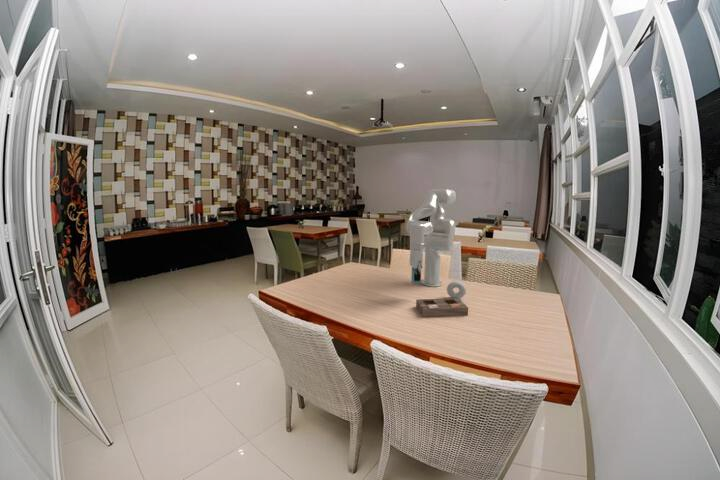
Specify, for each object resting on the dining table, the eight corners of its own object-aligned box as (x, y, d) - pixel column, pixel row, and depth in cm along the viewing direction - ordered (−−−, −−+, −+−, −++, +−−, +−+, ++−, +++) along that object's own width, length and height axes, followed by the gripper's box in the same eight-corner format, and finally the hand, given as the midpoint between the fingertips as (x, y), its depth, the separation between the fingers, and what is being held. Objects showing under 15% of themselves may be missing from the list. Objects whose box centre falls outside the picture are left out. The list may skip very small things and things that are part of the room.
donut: (446, 298, 158) (447, 281, 157) (446, 296, 162) (447, 279, 160) (465, 301, 155) (466, 283, 153) (465, 298, 158) (466, 281, 156)
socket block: (416, 306, 147) (416, 299, 147) (457, 305, 149) (457, 297, 148) (423, 317, 136) (423, 308, 135) (467, 315, 137) (468, 306, 137)
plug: (411, 281, 157) (411, 267, 155) (418, 281, 157) (418, 267, 156) (413, 284, 153) (413, 269, 152) (420, 283, 154) (421, 269, 152)
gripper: (406, 243, 159) (405, 274, 163) (414, 250, 143) (413, 285, 146) (419, 242, 160) (418, 274, 163) (428, 249, 143) (427, 284, 147)
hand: (416, 278), depth 155 cm, fingers closed on plug, 4 cm apart
